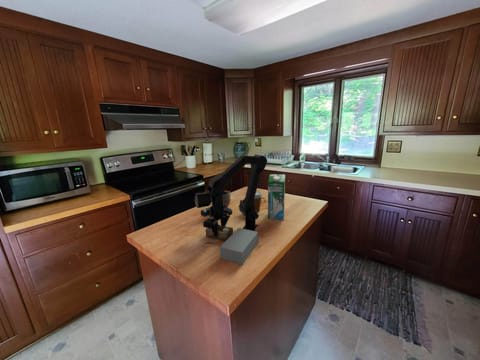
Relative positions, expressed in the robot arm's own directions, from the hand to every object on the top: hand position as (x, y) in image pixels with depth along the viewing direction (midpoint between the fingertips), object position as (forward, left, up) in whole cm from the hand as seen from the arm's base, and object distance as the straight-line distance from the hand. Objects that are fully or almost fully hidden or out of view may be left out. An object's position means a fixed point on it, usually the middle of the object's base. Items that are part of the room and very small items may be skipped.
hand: (219, 233), depth 103 cm
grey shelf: (+7, +15, -2) cm, 17 cm away
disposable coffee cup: (-36, +5, -2) cm, 36 cm away
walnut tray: (0, 0, -1) cm, 1 cm away
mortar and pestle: (-26, -13, -2) cm, 29 cm away
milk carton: (-33, +20, -2) cm, 39 cm away
